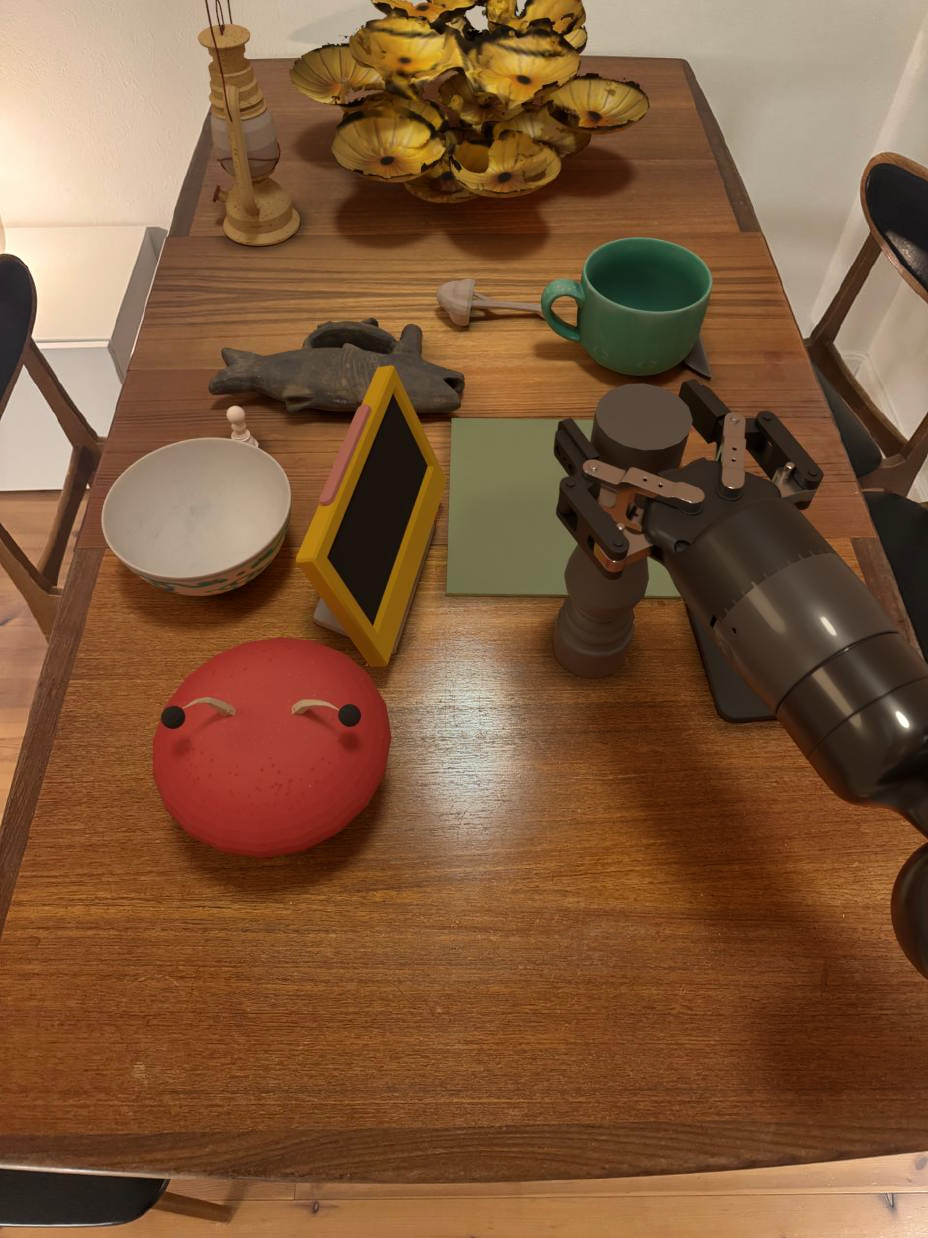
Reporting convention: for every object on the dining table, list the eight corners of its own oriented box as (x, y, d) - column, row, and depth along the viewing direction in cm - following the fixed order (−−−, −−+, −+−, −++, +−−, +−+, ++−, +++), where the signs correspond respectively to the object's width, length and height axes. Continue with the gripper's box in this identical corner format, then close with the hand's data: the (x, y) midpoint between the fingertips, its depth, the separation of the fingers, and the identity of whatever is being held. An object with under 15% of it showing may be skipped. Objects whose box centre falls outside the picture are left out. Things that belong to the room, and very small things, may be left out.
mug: (684, 316, 96) (704, 236, 88) (699, 393, 89) (722, 314, 81) (534, 313, 96) (540, 234, 89) (537, 390, 89) (544, 311, 81)
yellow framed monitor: (390, 690, 69) (373, 568, 56) (295, 671, 70) (258, 547, 57) (448, 505, 80) (445, 368, 67) (365, 491, 81) (347, 353, 68)
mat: (652, 423, 87) (653, 420, 86) (680, 598, 74) (681, 596, 74) (451, 420, 87) (451, 417, 86) (446, 595, 75) (446, 593, 74)
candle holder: (609, 691, 69) (674, 468, 49) (539, 658, 71) (573, 429, 50) (639, 634, 72) (712, 402, 52) (572, 604, 74) (616, 367, 53)
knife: (665, 297, 98) (666, 291, 97) (700, 296, 98) (702, 291, 97) (684, 380, 90) (686, 375, 89) (723, 380, 90) (725, 375, 90)
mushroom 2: (167, 898, 60) (91, 816, 48) (198, 697, 69) (141, 583, 56) (397, 890, 60) (381, 806, 48) (398, 691, 69) (385, 577, 57)
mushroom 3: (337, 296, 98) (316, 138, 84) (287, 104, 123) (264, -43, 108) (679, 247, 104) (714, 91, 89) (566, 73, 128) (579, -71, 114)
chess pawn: (223, 448, 84) (210, 409, 80) (246, 433, 86) (235, 394, 81) (241, 463, 83) (230, 424, 79) (264, 447, 84) (254, 408, 80)
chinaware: (295, 487, 82) (281, 425, 75) (314, 616, 73) (300, 559, 67) (131, 512, 80) (102, 451, 73) (131, 648, 71) (99, 592, 65)
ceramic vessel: (459, 396, 81) (474, 312, 91) (195, 371, 82) (238, 291, 92) (457, 440, 85) (472, 355, 95) (205, 416, 86) (246, 335, 96)
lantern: (225, 197, 109) (156, -102, 84) (303, 196, 109) (258, -102, 85) (212, 254, 102) (133, -53, 78) (296, 252, 103) (244, -54, 78)
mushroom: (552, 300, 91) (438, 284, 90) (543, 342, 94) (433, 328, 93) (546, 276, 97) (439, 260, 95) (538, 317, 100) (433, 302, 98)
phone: (722, 719, 67) (677, 564, 75) (720, 724, 68) (675, 570, 76) (816, 711, 67) (761, 558, 76) (813, 716, 68) (758, 564, 76)
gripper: (923, 517, 44) (737, 327, 52) (679, 613, 40) (522, 394, 49) (865, 604, 50) (708, 422, 58) (650, 693, 46) (515, 487, 55)
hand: (623, 410), depth 53 cm, fingers open, 8 cm apart
